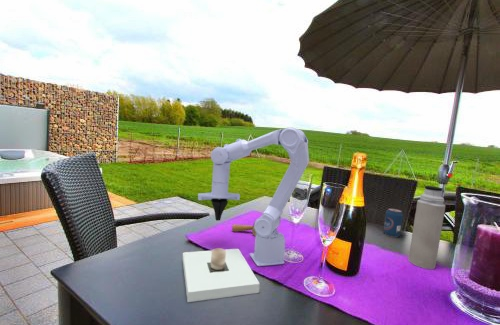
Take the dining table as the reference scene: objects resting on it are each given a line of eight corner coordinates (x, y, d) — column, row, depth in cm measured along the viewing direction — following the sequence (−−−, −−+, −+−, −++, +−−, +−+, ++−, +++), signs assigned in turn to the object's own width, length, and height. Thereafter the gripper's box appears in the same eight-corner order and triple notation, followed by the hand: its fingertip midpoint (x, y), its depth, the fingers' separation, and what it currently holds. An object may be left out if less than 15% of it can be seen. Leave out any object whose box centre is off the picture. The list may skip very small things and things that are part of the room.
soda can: (379, 232, 117) (383, 207, 116) (391, 231, 119) (395, 207, 118) (391, 238, 111) (394, 212, 110) (403, 237, 112) (407, 212, 111)
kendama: (231, 238, 99) (276, 237, 98) (231, 222, 100) (275, 221, 99) (234, 234, 107) (275, 233, 106) (233, 220, 107) (275, 218, 106)
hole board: (237, 255, 82) (238, 248, 82) (258, 292, 64) (259, 283, 63) (182, 260, 77) (182, 252, 76) (187, 302, 58) (188, 292, 58)
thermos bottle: (410, 255, 94) (421, 183, 91) (436, 264, 88) (449, 188, 86) (406, 262, 88) (418, 185, 85) (433, 271, 83) (447, 190, 80)
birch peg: (222, 270, 73) (224, 247, 72) (225, 278, 69) (227, 254, 68) (208, 271, 71) (210, 248, 71) (211, 279, 68) (212, 255, 67)
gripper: (237, 180, 92) (234, 215, 93) (198, 179, 87) (195, 216, 88) (242, 183, 85) (239, 221, 86) (200, 183, 80) (197, 223, 82)
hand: (217, 219), depth 87 cm, fingers closed
